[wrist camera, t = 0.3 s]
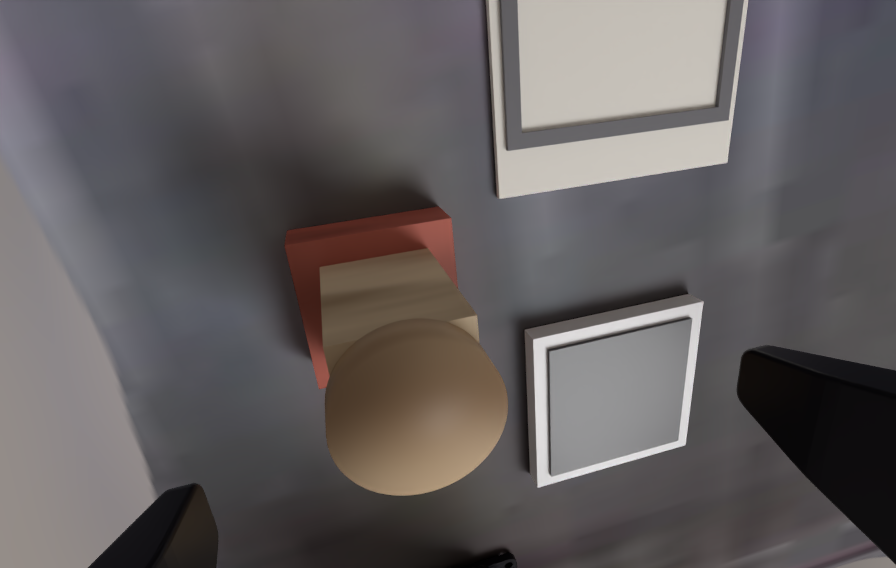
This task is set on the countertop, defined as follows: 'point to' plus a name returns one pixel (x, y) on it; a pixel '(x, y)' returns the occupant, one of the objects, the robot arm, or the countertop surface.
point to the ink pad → (610, 387)
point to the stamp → (396, 351)
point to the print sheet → (610, 88)
